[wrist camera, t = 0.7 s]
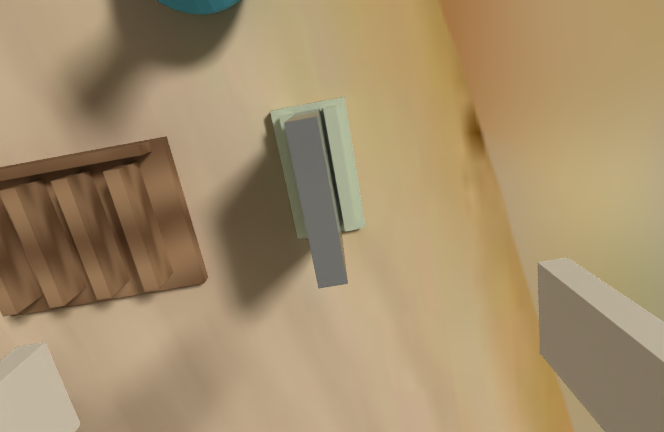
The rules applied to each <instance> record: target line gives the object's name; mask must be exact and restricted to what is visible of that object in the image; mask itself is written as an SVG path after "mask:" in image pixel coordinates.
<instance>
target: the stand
mask: <svg viewBox="0 0 664 432" xmlns="http://www.w3.org/2000/svg"><path fill="white" fill-rule="evenodd" d="M314 109H320V114H321V120H322V125H323V131H324V136H325V142H326V147H327V153H328V158H329V164H330V169H331V175H332V180H333V186H334V191H335V197H336V202H337V208H338V213H339V219H340V224H341V231H345V232H346V231H352V230H357V229H359V228H365V227H366V226H365V220H364V214H363V208H362V201H361V195H360V189H359V183H358V177H357V171H356V165H355V158H354V152H353V146H352V140H351V134H350V128H349V122H348V116H347V109H346V103H345V97H341V98H336V99H330V100H325V101H320V102H314V103H309V104H304V105H298V106H293V107H288V108H282V109H277V110H272V111H270V114H271V118H272V123H273V127H274V132H275V137H276V141H277V146H278V150H279V155H280V160H281V164H282V169H283V173H284V178H285V183H286V187H287V192H288V196H289V201H290V206H291V210H292V215H293V219H294V224H295V229H296V233H297V238H298V239H302V238H305V239H306V238H308V235H307V230H306V225H305V221H304V216H303V211H302V206H301V202H300V197H299V192H298V187H297V182H296V178H295V173H294V168H293V163H292V158H291V154H290V149H289V144H288V139H287V135H286V130H285V125H284V122H285V121H287V120H288V119H289V118H291V117H292V116H293V115H295V114H296V113H298V112H303V111H309V110H314Z"/></svg>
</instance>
